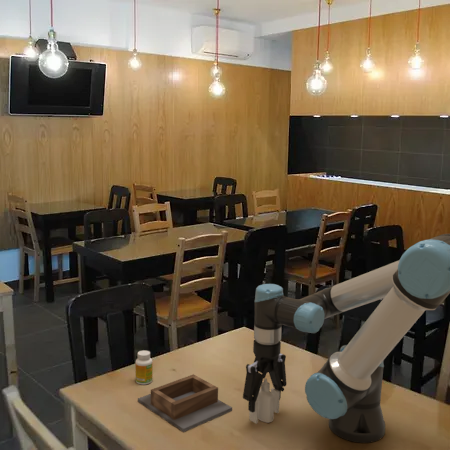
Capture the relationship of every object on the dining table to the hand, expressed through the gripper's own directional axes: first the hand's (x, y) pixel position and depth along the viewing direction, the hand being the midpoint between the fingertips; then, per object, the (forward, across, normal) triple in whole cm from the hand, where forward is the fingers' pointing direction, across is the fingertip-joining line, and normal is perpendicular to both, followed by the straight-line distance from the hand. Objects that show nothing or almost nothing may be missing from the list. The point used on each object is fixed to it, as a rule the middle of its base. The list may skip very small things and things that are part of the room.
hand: (264, 416), depth 158 cm
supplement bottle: (+1, +13, -41) cm, 43 cm away
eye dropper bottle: (+1, 0, 0) cm, 1 cm away
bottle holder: (+1, +13, -20) cm, 24 cm away
